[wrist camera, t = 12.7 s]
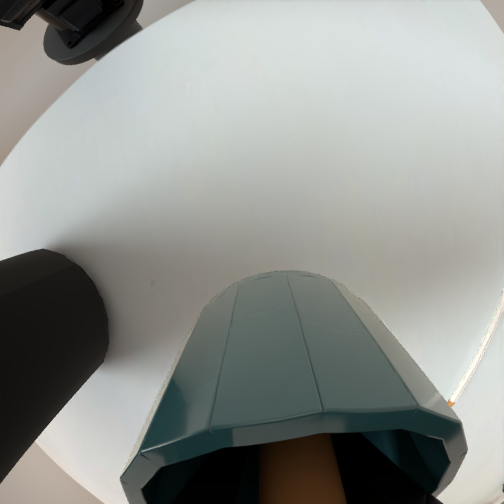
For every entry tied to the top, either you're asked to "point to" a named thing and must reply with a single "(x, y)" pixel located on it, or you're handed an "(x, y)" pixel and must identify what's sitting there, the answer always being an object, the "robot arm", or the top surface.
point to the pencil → (479, 351)
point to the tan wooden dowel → (300, 472)
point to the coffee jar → (44, 344)
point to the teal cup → (290, 388)
